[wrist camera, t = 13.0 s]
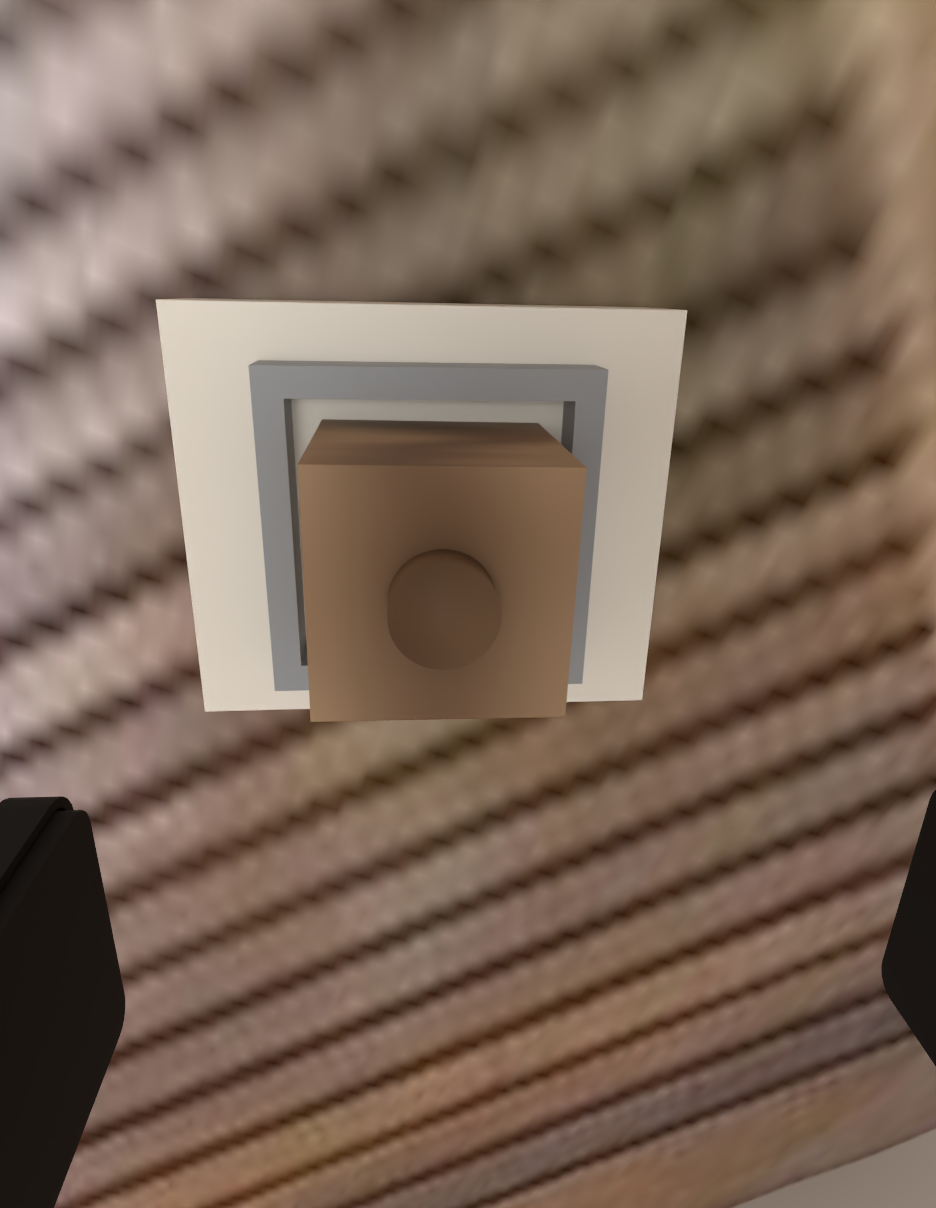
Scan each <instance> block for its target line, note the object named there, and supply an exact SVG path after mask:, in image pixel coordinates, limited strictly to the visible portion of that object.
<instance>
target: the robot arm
mask: <svg viewBox="0 0 936 1208" xmlns="http://www.w3.org/2000/svg"><path fill="white" fill-rule="evenodd" d="M882 978H883V983H884V986H885V989H886V991H887V994H888V995H889V997H890V999H891V1001H892V1002H893V1004H894V1005H895V1007H896V1008H897V1010H898V1011H899V1013H900V1014H901V1016H902V1017H903V1018H904V1020H905V1021H906V1023H907V1024H908V1026H909V1027H910V1029H911V1030H912V1032H913V1033H914V1035H915V1036H916V1038H917V1039H918V1041H919V1042H920V1044H921V1045H922V1047H923V1048H924V1050H925V1051H926V1052H927V1054H928V1055H929V1057H930V1058H931V1060H932V1061H933V1063H934V1064H935V1066H936V790H935V791H934V792H933V794H932V796H931V798H930V801H929V804H928V807H927V811H926V814H925V818H924V821H923V824H922V828H921V831H920V835H919V838H918V842H917V845H916V848H915V852H914V855H913V859H912V862H911V865H910V869H909V872H908V876H907V879H906V882H905V886H904V889H903V893H902V896H901V900H900V903H899V906H898V910H897V913H896V917H895V920H894V923H893V927H892V930H891V934H890V937H889V940H888V944H887V947H886V951H885V954H884V958H883V961H882ZM124 1014H125V995H124V989H123V984H122V979H121V974H120V969H119V964H118V959H117V954H116V949H115V944H114V939H113V934H112V928H111V923H110V918H109V913H108V908H107V903H106V898H105V893H104V888H103V883H102V878H101V873H100V868H99V863H98V857H97V852H96V847H95V842H94V837H93V832H92V827H91V822H90V819H89V816H88V814H87V813H86V812H85V811H83V810H73V807H72V804H71V803H70V801H69V800H68V799H67V798H65V797H28V798H8V799H5V800H3V801H2V802H0V1208H54V1206H55V1203H56V1201H57V1198H58V1196H59V1193H60V1190H61V1188H62V1185H63V1182H64V1180H65V1177H66V1175H67V1172H68V1169H69V1167H70V1164H71V1162H72V1159H73V1156H74V1154H75V1151H76V1149H77V1146H78V1143H79V1141H80V1138H81V1135H82V1133H83V1130H84V1128H85V1125H86V1122H87V1120H88V1117H89V1115H90V1112H91V1109H92V1107H93V1104H94V1102H95V1099H96V1096H97V1094H98V1091H99V1089H100V1086H101V1083H102V1081H103V1078H104V1075H105V1073H106V1070H107V1068H108V1065H109V1062H110V1060H111V1057H112V1055H113V1052H114V1049H115V1047H116V1044H117V1042H118V1039H119V1036H120V1033H121V1030H122V1026H123V1021H124Z"/></svg>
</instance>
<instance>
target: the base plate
mask: <svg viewBox="0 0 936 1208" xmlns="http://www.w3.org/2000/svg"><path fill="white" fill-rule="evenodd" d="M156 306H157V314H158V322H159V331H160V339H161V347H162V356H163V364H164V372H165V381H166V389H167V397H168V406H169V414H170V422H171V431H172V439H173V447H174V456H175V464H176V472H177V481H178V489H179V498H180V506H181V514H182V523H183V531H184V539H185V548H186V556H187V564H188V573H189V581H190V589H191V598H192V606H193V614H194V623H195V631H196V639H197V648H198V656H199V664H200V673H201V681H202V689H203V698H204V706H205V711H241V710H279V709H310V699H309V680H308V660H307V641H306V621H305V602H304V582H303V562H302V543H301V523H300V504H299V484H298V465H297V464H298V463H299V461H300V459H301V457H302V455H303V453H304V452H305V450H306V448H307V446H308V444H309V442H310V441H311V439H312V437H313V435H314V433H315V431H316V430H317V428H318V426H319V424H320V422H321V420H322V419H334V420H394V421H453V422H513V423H539V424H540V425H541V426H542V427H543V428H544V429H545V430H546V431H547V432H548V433H549V434H551V435H552V436H553V437H554V438H555V439H556V440H557V441H558V442H559V443H560V444H561V445H563V446H564V447H565V448H566V449H567V450H568V451H569V452H570V453H571V454H572V455H573V456H575V457H576V458H577V459H578V460H579V461H580V462H581V463H582V464H583V465H584V466H585V467H587V472H586V484H585V495H584V507H583V518H582V530H581V541H580V553H579V564H578V575H577V587H576V598H575V610H574V621H573V633H572V644H571V656H570V667H569V679H568V690H567V702H583V701H622V700H642V695H643V687H644V678H645V670H646V661H647V652H648V644H649V635H650V627H651V618H652V610H653V601H654V592H655V584H656V575H657V567H658V558H659V549H660V541H661V532H662V524H663V515H664V507H665V498H666V489H667V481H668V472H669V464H670V455H671V447H672V438H673V429H674V421H675V412H676V404H677V395H678V387H679V378H680V369H681V361H682V352H683V344H684V335H685V326H686V318H687V310H676V309H662V308H647V307H607V306H557V305H508V304H458V303H409V302H359V301H310V300H260V299H211V298H184V299H160V300H156Z"/></svg>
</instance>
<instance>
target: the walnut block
mask: <svg viewBox="0 0 936 1208" xmlns="http://www.w3.org/2000/svg"><path fill="white" fill-rule="evenodd" d="M297 465H298V484H299V504H300V523H301V543H302V562H303V582H304V602H305V621H306V641H307V660H308V680H309V699H310V719H311V722H324V721H376V720H429V719H481V718H534V717H565V713H566V702H567V690H568V679H569V667H570V656H571V644H572V633H573V621H574V610H575V598H576V587H577V575H578V564H579V553H580V541H581V530H582V518H583V507H584V495H585V484H586V472H587V467H585V466H584V465H583V464H582V463H581V462H580V461H579V460H578V459H577V458H576V457H575V456H573V455H572V454H571V453H570V452H569V451H568V450H567V449H566V448H565V447H564V446H563V445H561V444H560V443H559V442H558V441H557V440H556V439H555V438H554V437H553V436H552V435H551V434H549V433H548V432H547V431H546V430H545V429H544V428H543V427H542V426H541V425H540V424H539V423H513V422H453V421H394V420H334V419H322V420H321V422H320V424H319V426H318V428H317V430H316V431H315V433H314V435H313V437H312V439H311V441H310V442H309V444H308V446H307V448H306V450H305V452H304V453H303V455H302V457H301V459H300V461H299V463H298V464H297Z"/></svg>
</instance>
